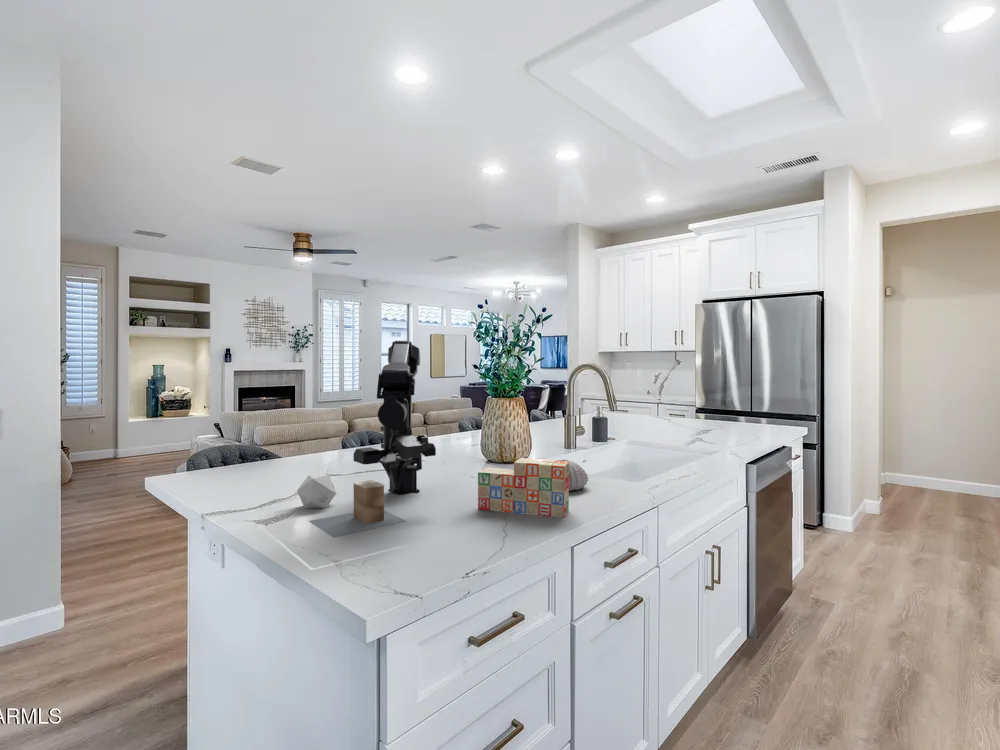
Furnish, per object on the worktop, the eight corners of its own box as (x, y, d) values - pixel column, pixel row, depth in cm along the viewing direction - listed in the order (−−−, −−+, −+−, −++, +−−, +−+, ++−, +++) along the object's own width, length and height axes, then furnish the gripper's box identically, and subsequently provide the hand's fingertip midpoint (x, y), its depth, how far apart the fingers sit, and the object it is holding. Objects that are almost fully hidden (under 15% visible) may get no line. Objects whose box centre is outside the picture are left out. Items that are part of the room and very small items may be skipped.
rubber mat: (378, 508, 129) (378, 507, 129) (407, 522, 118) (407, 521, 118) (308, 522, 118) (308, 520, 118) (333, 538, 107) (333, 537, 107)
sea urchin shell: (534, 491, 147) (534, 462, 147) (547, 481, 160) (547, 454, 160) (582, 495, 143) (582, 466, 142) (591, 484, 155) (591, 457, 155)
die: (313, 517, 124) (338, 481, 127) (284, 497, 126) (310, 462, 129) (324, 519, 132) (347, 486, 135) (296, 501, 134) (320, 468, 136)
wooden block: (372, 514, 123) (371, 480, 123) (384, 520, 119) (383, 484, 119) (353, 517, 121) (353, 482, 120) (365, 524, 116) (365, 487, 116)
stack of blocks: (477, 510, 129) (477, 459, 128) (485, 503, 135) (486, 455, 134) (564, 518, 122) (564, 465, 122) (569, 511, 128) (569, 460, 128)
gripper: (374, 429, 111) (374, 503, 112) (448, 422, 123) (448, 489, 124) (352, 424, 120) (352, 492, 120) (423, 418, 132) (423, 481, 132)
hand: (396, 489), depth 124 cm, fingers closed
